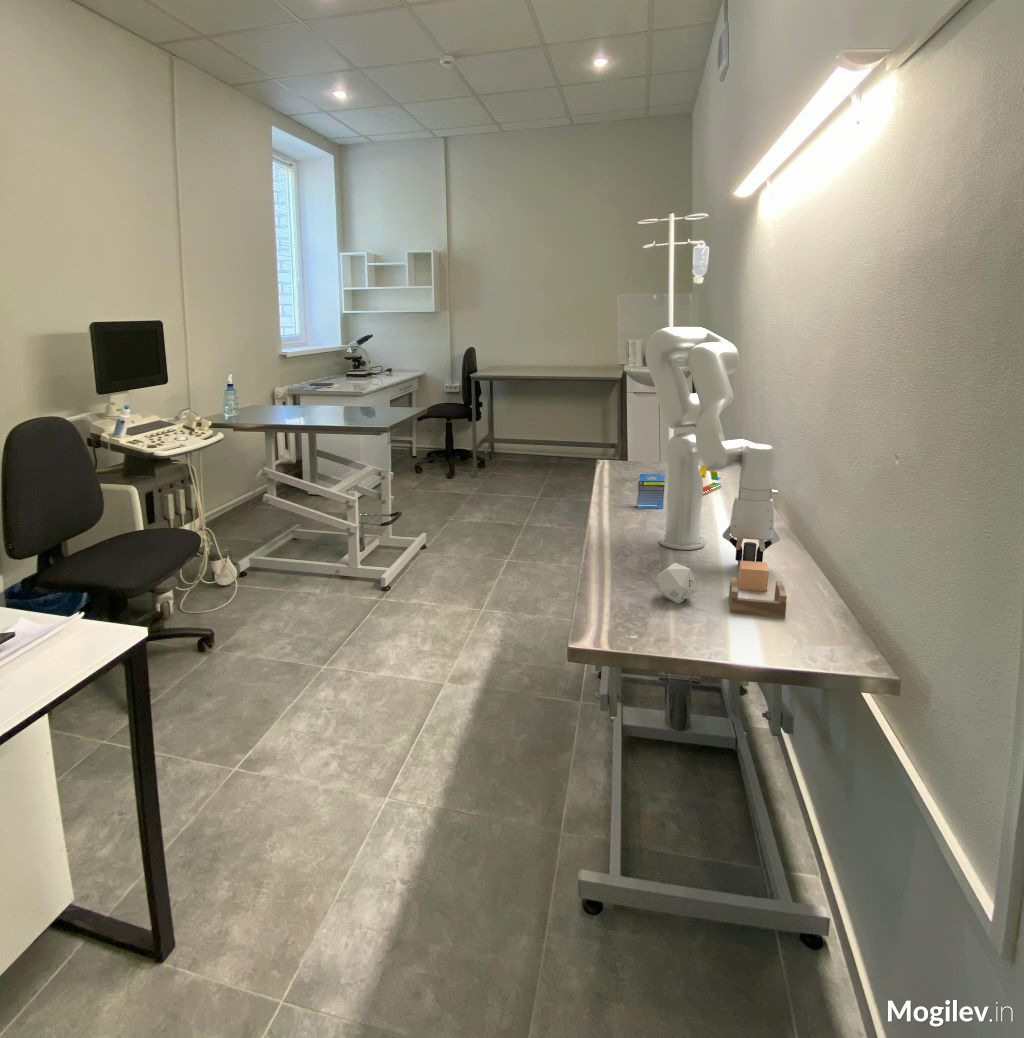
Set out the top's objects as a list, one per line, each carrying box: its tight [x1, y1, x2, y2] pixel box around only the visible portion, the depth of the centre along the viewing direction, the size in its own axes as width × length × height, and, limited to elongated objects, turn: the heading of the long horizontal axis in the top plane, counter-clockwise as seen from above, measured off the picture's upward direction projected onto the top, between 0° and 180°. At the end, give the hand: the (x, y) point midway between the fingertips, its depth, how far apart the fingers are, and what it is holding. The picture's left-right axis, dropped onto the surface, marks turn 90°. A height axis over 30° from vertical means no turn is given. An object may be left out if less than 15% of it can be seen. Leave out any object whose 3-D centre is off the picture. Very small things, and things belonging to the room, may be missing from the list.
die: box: [656, 562, 698, 605], centre depth 146 cm, size 8×9×10 cm
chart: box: [699, 465, 722, 497], centre depth 243 cm, size 30×3×15 cm, turn 141°
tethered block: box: [737, 541, 770, 592], centre depth 160 cm, size 18×6×6 cm, turn 164°
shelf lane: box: [728, 576, 788, 618], centre depth 142 cm, size 10×11×4 cm
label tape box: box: [636, 473, 666, 509], centre depth 225 cm, size 9×4×12 cm, turn 84°
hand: (748, 563), depth 167 cm, fingers open, 3 cm apart
